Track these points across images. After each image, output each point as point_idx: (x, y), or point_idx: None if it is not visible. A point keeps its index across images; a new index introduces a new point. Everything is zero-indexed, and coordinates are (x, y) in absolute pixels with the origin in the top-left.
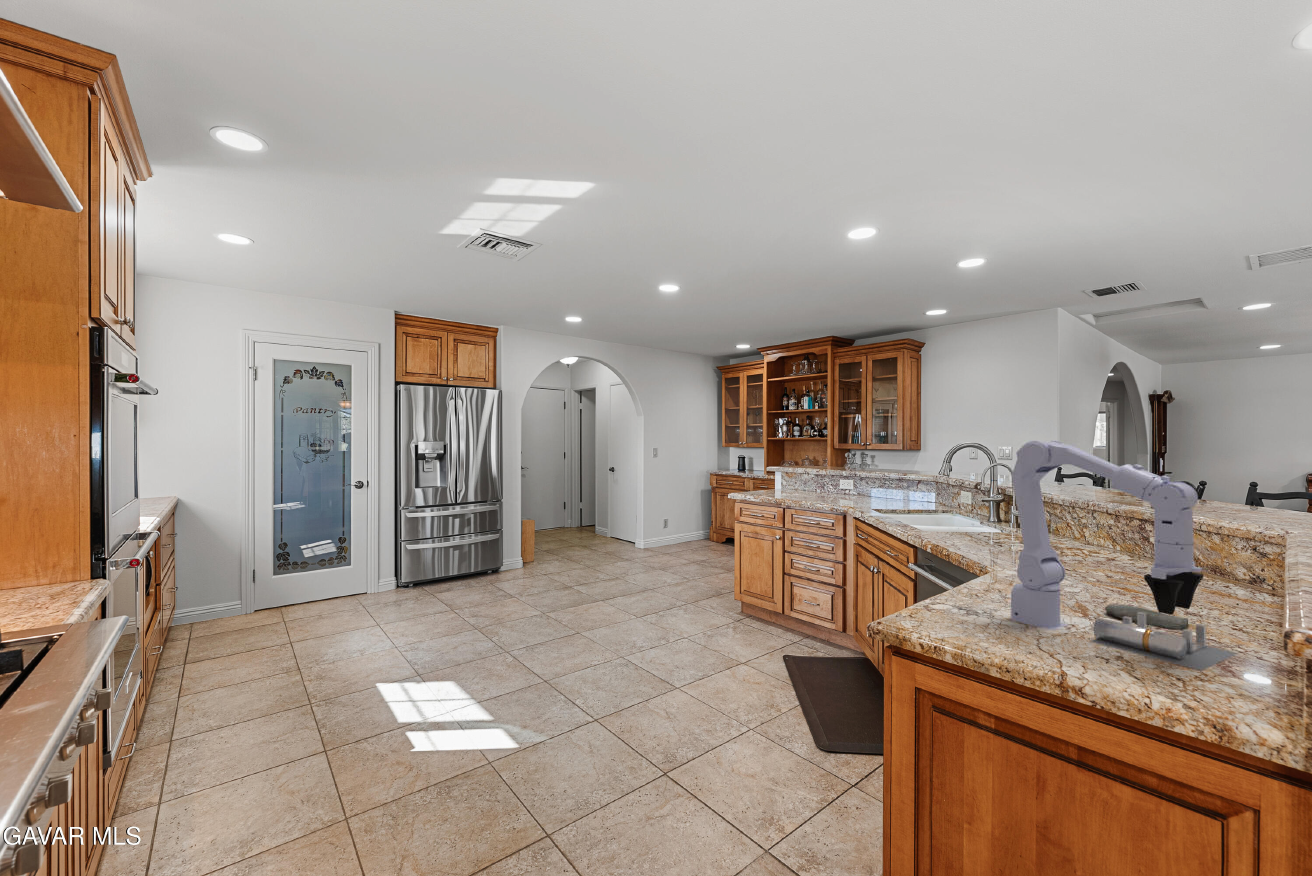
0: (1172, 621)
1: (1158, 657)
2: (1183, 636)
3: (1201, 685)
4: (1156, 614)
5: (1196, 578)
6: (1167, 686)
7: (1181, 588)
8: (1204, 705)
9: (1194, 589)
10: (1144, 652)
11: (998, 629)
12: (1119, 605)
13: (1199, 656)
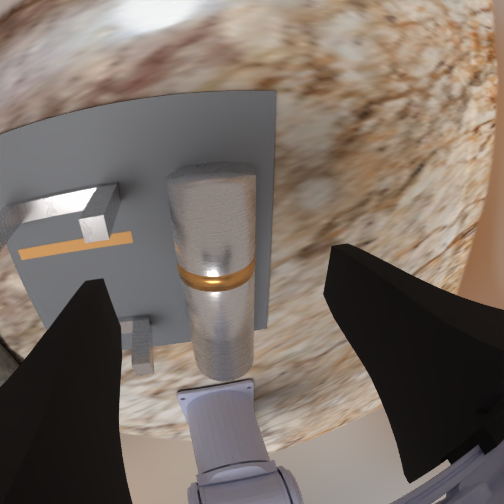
0: None
1: None
2: (111, 223)
3: (367, 69)
4: None
5: (32, 493)
6: (423, 118)
7: (93, 418)
8: (457, 58)
9: (35, 377)
10: None
11: (314, 391)
12: None
13: (115, 157)
